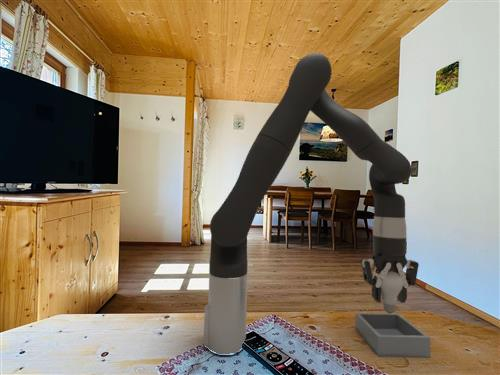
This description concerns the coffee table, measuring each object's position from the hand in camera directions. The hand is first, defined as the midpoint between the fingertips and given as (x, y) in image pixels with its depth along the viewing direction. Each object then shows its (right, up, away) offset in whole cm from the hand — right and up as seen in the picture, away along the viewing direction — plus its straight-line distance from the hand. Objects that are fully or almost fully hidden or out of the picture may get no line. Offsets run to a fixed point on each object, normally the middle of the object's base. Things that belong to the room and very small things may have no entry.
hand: (389, 301), depth 64 cm
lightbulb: (0, -3, 0) cm, 3 cm away
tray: (0, -10, 0) cm, 10 cm away
